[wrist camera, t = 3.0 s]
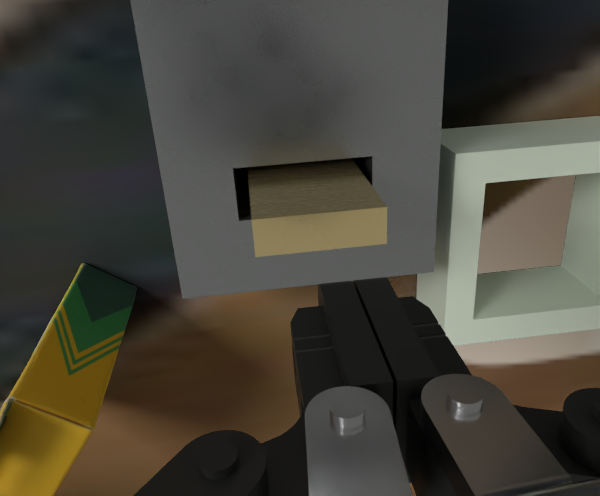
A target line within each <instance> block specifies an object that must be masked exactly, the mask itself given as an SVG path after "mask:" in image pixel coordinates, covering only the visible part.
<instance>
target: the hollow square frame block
mask: <svg viewBox="0 0 600 496" xmlns="http://www.w3.org/2000/svg"><path fill="white" fill-rule="evenodd" d="M567 175H576V177H575V183H574V190H573V195H572V202H571V207H570V214H569V219H568V225H567V231H566V237H565V243H564V250H563V255H562V262H561V265H558V266H548V267H539V268H530V269H521V270H511V271H502V272H492V273H483V274H477V269H478V260H479V249H480V238H481V228H482V217H483V206H484V195H485V184H486V183H493V182H504V181H514V180H525V179H536V178H546V177H557V176H567ZM416 299H417V300H419V301H420V302H422V303H423V304H425V305H426V306H428V307H429V308H430V309H431V311H432V313H433V314H434V316H435V317H436V319H437V321H438V324H439V325H441V327H442V328H443V330H444V332H445V333H446V336H448V338H449V340H450V341H451V343H452V344H453V346H457V345H465V344H474V343H483V342H491V341H498V340H499V341H500V340H508V339H516V338H525V337H534V336H542V335H550V334H560V333H567V332H577V331H585V330H594V329H600V116H590V117H579V118H567V119H555V120H543V121H532V122H520V123H508V124H497V125H485V126H473V127H462V128H450V129H441V146H440V164H439V183H438V202H437V220H436V239H435V257H434V272H430V273H421V274H417V296H416Z"/></svg>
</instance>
